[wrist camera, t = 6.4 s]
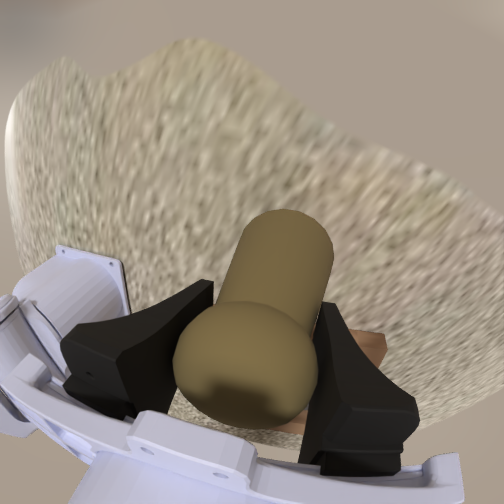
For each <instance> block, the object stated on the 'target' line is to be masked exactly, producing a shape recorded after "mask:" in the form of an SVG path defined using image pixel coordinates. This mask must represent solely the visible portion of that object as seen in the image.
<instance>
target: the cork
mask: <svg viewBox="0 0 504 504" xmlns="http://www.w3.org/2000/svg"><path fill="white" fill-rule="evenodd" d="M333 261H334V252H333V244H332V242H331V240H330V238H329V236H328V234H327V232H326V230H325V229H324V228H323V227H322V226H321V225H320V224H319V223H318V222H317V221H316V220H315V219H314V218H312V217H310V216H308V215H306V214H304V213H302V212H300V211H294V210H288V209H279V210H272V211H267V212H265V213H263V214H261V215H259V216H257V217H255V218H254V219H253V220H252V221H251V222H250V223H249V224H248V225H247V226H246V227H245V229H244V231H243V233H242V236H241V238H240V240H239V243H238V245H237V248H236V251H235V253H234V256H233V259H232V261H231V264H230V266H229V269H228V272H227V274H226V277H225V280H224V282H223V285H222V288H221V290H220V293H219V296H218V298H217V301H216V304H215V306H212V307H209V308H207V309H206V310H205V311H203V312H202V313H201V314H199V315H198V316H197V317H196V318H195V319H194V320H193V321H192V322H190V323H189V324H188V325H187V326H186V328H185V329H184V331H183V332H182V334H181V335H180V337H179V340H178V343H177V346H176V349H175V353H174V357H173V360H172V361H173V370H174V376H175V381H176V385H177V386H178V388H179V390H180V391H181V393H182V394H183V396H184V397H185V398H186V399H187V400H188V401H189V402H190V403H191V404H192V405H193V406H194V407H195V408H196V409H198V410H199V411H201V412H202V413H204V414H205V415H207V416H208V417H210V418H212V419H214V420H216V421H219V422H221V423H223V424H226V425H230V426H234V427H237V428H244V429H253V430H256V429H269V428H275V427H278V426H282V425H285V424H287V423H289V422H290V421H291V420H293V419H294V418H295V417H296V416H298V415H299V414H300V413H301V412H302V411H303V410H304V409H305V408H306V407H307V405H308V403H309V401H310V399H311V397H312V395H313V392H314V390H315V387H316V385H317V380H318V363H317V356H316V351H315V347H314V344H313V342H312V340H311V339H310V337H311V334H312V331H313V328H314V325H315V322H316V319H317V316H318V313H319V309H320V306H321V303H322V300H323V297H324V293H325V290H326V287H327V283H328V280H329V276H330V273H331V269H332V265H333Z"/></svg>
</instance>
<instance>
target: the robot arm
mask: <svg viewBox="0 0 504 504" xmlns="http://www.w3.org/2000/svg"><path fill="white" fill-rule="evenodd" d="M55 249H56V254H57V255H55V256H53V257H52V258H50V259H49V260H47V261H46V262H44V263H43V264H41V265H40V266H38V267H37V268H35V269H34V270H33V271H31V272H30V273H28V274H27V275H25V276H24V277H23V278H22V279H20V281H19V282H18V283H17V285H16V286H15V288H14V290H13V293H12V295H10V294H5V295H3V296H2V297H0V388H1V390H2V391H3V392H4V393H5V395H6V396H7V397H8V398H9V399H8V398H7V397H6V396H5V395H4V394H3V392H2V391H1V390H0V433H4V434H8V435H11V436H16V437H20V438H27V437H28V436H29V435H30V434H32V433H33V432H34V431H36V430H37V429H40V430H41V431H43V432H44V433H45V434H46V435H48V436H49V437H50V438H52V439H53V440H54V441H55V442H57V443H58V444H59V445H61V446H62V447H63V448H65V449H66V450H67V451H69V452H70V453H72V454H73V455H75V456H76V457H77V458H79V459H80V460H82V461H84V462H85V463H86V464H88V465H89V466H90V467H89V468H88V470H87V472H86V474H85V475H84V477H83V478H82V480H81V482H80V483H79V485H78V487H77V488H76V490H75V492H74V494H73V495H72V497H71V499H70V500H69V502H68V504H461V503H463V502H464V500H465V498H464V489H463V481H462V474H461V467H460V461H459V456H458V452H453V453H447V454H440V455H435V456H433V457H431V458H429V459H428V460H426V461H425V462H424V463H423V464H422V465H413V466H401V459H400V453H402V452H403V442H404V441H405V440H406V439H407V438H408V437H409V436H410V435H411V434H412V433H413V432H414V431H415V430H416V428H417V427H418V426H419V422H420V418H419V412H418V407H417V404H416V400H415V398H414V397H413V396H411V395H410V394H408V393H407V392H405V391H404V390H402V389H401V388H399V387H398V386H397V385H396V384H394V383H393V382H392V381H391V380H389V379H388V378H387V377H386V376H385V375H384V374H383V373H382V372H381V371H380V370H379V369H378V368H377V367H376V366H375V365H374V364H373V363H372V362H371V361H370V360H369V358H368V357H367V356H366V355H365V353H364V352H363V351H362V350H361V348H360V347H359V345H358V344H357V342H356V341H355V339H354V338H353V336H352V334H351V333H350V331H349V329H348V327H347V326H346V324H345V322H344V320H343V318H342V316H341V314H340V312H339V310H338V308H337V306H336V304H335V303H329V302H323V301H322V304H321V307H320V311H319V315H318V319H317V322H316V326H315V329H314V333H313V338H312V342H313V344H314V347H315V351H316V356H317V363H318V380H317V385H316V387H315V390H314V392H313V395H312V397H311V399H310V401H309V406H308V412H307V419H306V424H305V430H304V435H303V440H302V445H301V450H300V455H299V459H298V463H291V462H284V461H277V460H272V459H266V458H260V457H257V455H258V453H257V450H256V448H255V446H254V445H253V444H251V443H250V442H248V441H247V440H245V439H244V438H241V437H238V436H236V435H233V434H230V433H226V432H222V431H219V430H215V429H211V428H208V427H204V426H201V425H197V424H194V423H191V422H188V421H184V420H181V419H178V418H175V417H172V416H170V415H167V413H168V410H169V408H170V405H171V402H172V400H173V397H174V395H175V392H176V390H177V387H178V386H177V385H176V381H175V376H174V370H173V361H172V360H173V357H174V353H175V349H176V346H177V343H178V340H179V337H180V335H181V334H182V332H183V331H184V329H185V328H186V326H187V325H188V324H189V323H190V322H192V321H193V320H194V319H195V318H196V317H197V316H198V315H199V314H201V313H202V312H203V311H205V310H206V309H207V308H209V307H212V306H213V291H214V281H209V280H204V279H201V280H199V281H197V282H195V283H194V284H192V285H190V286H189V287H187V288H185V289H184V290H182V291H180V292H179V293H177V294H175V295H173V296H172V297H170V298H168V299H166V300H164V301H162V302H160V303H158V304H156V305H154V306H151V307H149V308H147V309H144V310H142V311H139V312H136V313H133V314H130V310H129V305H128V299H127V294H126V288H125V282H124V276H123V269H122V264H121V262H120V261H119V260H118V259H114V258H110V257H106V256H102V255H97V254H93V253H89V252H85V251H82V250H78V249H74V248H70V247H66V246H62V245H57V246H56V247H55ZM112 263H113V264H112Z"/></svg>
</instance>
